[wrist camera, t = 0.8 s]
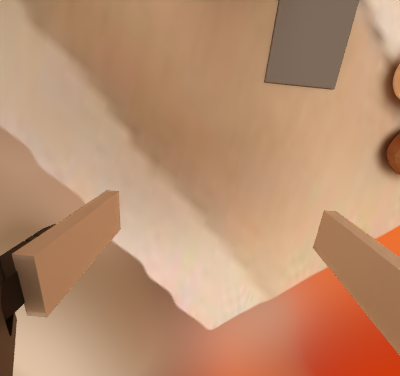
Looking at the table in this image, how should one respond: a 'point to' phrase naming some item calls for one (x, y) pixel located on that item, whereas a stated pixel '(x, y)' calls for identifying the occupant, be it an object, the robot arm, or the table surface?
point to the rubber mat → (309, 42)
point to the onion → (394, 154)
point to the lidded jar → (397, 82)
